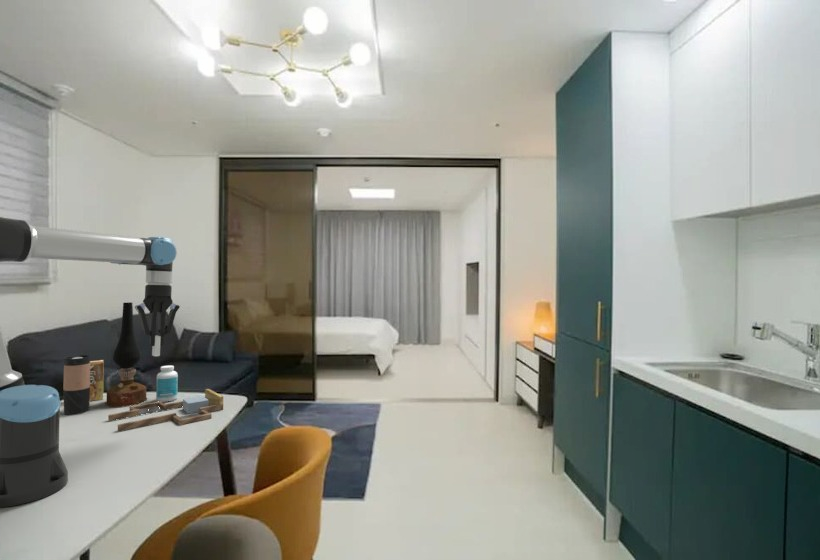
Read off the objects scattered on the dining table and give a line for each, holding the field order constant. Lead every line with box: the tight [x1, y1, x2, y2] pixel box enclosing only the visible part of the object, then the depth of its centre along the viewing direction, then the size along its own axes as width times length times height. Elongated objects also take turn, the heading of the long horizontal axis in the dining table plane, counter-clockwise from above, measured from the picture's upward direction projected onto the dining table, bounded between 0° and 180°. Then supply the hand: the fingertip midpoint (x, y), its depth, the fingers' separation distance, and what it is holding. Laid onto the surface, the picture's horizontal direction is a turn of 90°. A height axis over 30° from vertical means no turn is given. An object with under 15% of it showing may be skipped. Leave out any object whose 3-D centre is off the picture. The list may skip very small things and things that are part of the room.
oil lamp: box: [105, 302, 148, 408], centre depth 168 cm, size 14×15×40 cm
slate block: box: [182, 395, 210, 414], centre depth 159 cm, size 7×7×4 cm
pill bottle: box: [155, 365, 179, 403], centre depth 170 cm, size 8×7×14 cm
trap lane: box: [107, 388, 224, 432], centre depth 152 cm, size 33×28×5 cm
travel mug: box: [62, 354, 91, 416], centre depth 154 cm, size 8×8×20 cm
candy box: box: [89, 359, 105, 402], centre depth 168 cm, size 9×4×15 cm, turn 127°
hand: (155, 355), depth 139 cm, fingers closed
